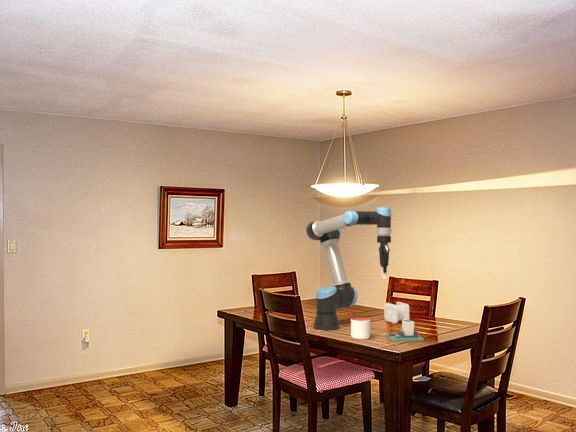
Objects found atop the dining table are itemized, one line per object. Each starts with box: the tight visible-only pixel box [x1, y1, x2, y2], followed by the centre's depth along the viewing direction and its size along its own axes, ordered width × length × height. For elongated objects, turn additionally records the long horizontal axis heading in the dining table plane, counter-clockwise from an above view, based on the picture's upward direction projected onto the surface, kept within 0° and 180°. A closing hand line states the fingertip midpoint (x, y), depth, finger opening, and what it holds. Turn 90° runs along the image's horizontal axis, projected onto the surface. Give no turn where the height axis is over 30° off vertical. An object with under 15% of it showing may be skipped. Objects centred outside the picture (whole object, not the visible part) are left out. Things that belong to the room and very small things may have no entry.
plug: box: [401, 319, 416, 336], centre depth 293 cm, size 6×4×8 cm
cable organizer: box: [383, 301, 410, 325], centre depth 342 cm, size 15×11×12 cm
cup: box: [350, 317, 371, 341], centre depth 294 cm, size 10×10×10 cm
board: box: [385, 328, 425, 343], centre depth 293 cm, size 16×14×4 cm
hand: (384, 278), depth 305 cm, fingers closed
